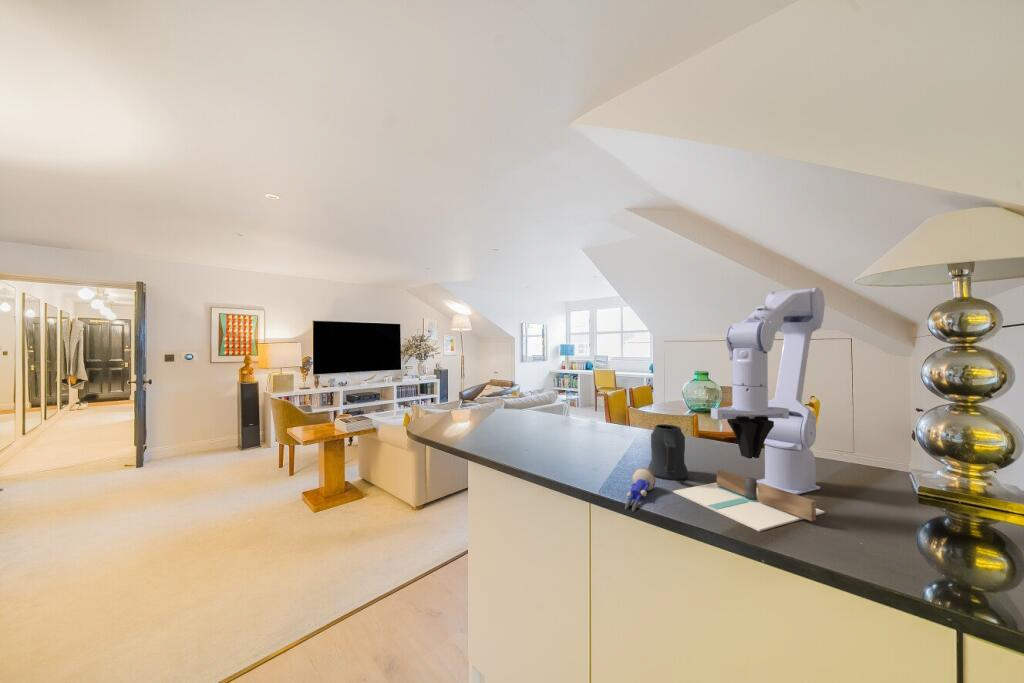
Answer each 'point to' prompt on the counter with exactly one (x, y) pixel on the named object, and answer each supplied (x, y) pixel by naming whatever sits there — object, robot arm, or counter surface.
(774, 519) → the mat
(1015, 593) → the counter surface
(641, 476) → the toy
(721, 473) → the post and fixed rail
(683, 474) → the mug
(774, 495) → the swing panel
